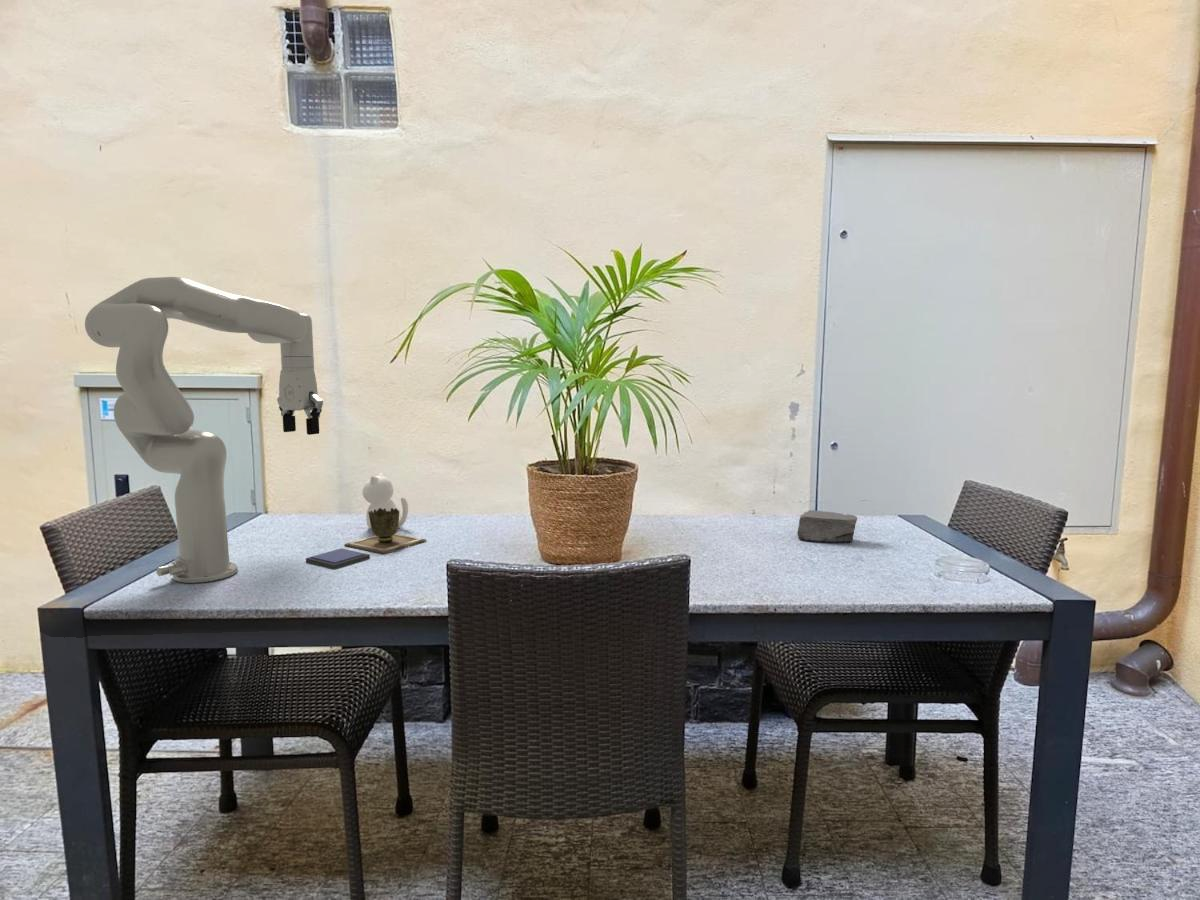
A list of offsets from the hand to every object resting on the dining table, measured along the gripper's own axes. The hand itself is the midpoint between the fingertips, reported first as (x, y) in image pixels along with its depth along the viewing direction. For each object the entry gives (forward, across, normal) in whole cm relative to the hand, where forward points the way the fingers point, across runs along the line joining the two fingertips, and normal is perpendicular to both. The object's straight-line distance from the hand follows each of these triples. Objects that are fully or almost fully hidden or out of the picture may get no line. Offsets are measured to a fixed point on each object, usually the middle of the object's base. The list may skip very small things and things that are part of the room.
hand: (301, 432), depth 194 cm
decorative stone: (+27, +109, +75) cm, 135 cm away
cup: (+27, +19, +9) cm, 35 cm away
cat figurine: (+28, +7, +20) cm, 35 cm away
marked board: (+28, +19, +9) cm, 35 cm away
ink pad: (+28, +22, -6) cm, 36 cm away
